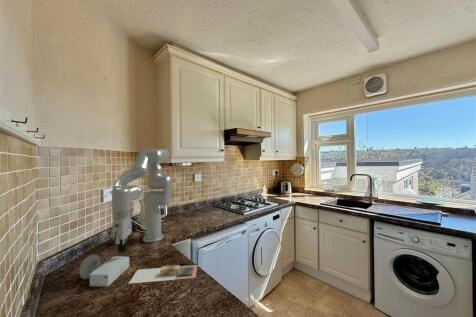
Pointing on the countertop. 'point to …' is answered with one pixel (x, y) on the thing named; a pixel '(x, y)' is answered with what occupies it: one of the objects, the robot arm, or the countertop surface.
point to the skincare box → (109, 271)
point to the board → (158, 275)
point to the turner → (176, 271)
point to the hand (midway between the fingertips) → (122, 251)
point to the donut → (86, 264)
